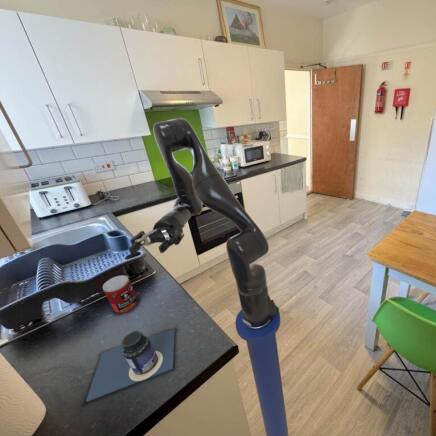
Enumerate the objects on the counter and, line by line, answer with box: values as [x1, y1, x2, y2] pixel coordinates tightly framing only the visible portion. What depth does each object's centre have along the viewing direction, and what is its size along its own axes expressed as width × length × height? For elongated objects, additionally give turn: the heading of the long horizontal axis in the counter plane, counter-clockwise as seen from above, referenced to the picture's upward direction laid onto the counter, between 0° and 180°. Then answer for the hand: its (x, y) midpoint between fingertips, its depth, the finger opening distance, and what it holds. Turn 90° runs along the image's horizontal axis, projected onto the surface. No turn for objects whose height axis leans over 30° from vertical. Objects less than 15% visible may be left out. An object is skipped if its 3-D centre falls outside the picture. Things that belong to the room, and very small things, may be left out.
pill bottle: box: [121, 330, 158, 375], centre depth 64 cm, size 6×6×11 cm
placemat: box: [85, 328, 176, 403], centre depth 68 cm, size 20×14×1 cm
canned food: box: [102, 274, 139, 314], centre depth 85 cm, size 8×8×11 cm
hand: (145, 251), depth 68 cm, fingers open, 8 cm apart
